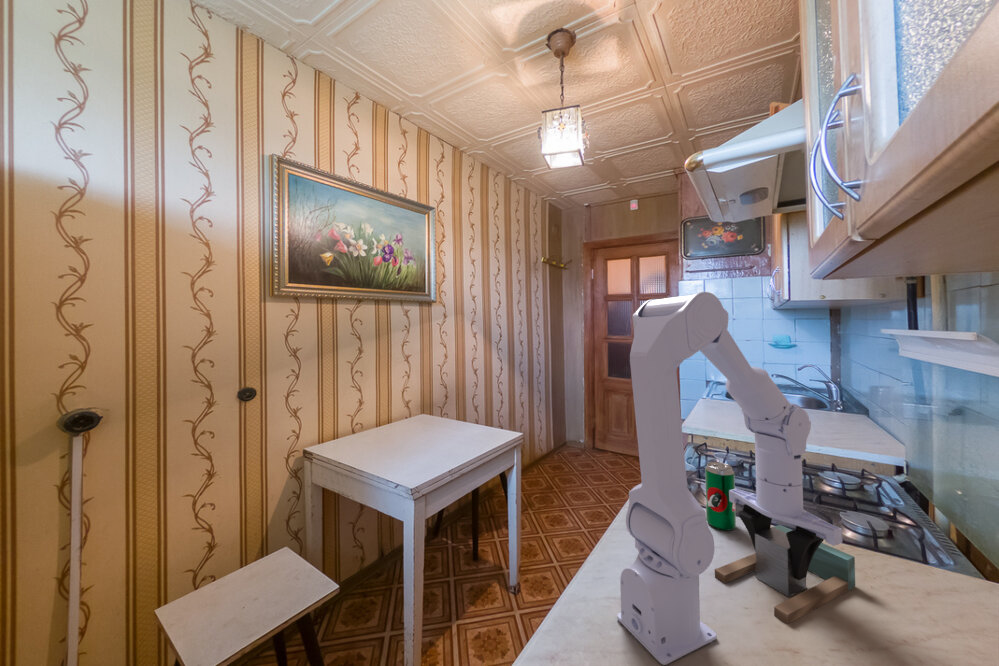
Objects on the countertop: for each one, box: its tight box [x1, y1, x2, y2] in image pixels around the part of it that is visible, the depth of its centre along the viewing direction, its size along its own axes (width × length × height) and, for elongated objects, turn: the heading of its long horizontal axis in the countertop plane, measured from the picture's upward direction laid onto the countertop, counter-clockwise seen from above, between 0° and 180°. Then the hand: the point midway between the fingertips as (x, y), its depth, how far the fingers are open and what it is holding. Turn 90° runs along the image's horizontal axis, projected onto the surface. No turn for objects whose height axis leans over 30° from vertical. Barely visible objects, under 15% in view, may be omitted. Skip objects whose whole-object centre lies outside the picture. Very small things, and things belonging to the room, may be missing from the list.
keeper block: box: [754, 526, 807, 598], centre depth 55 cm, size 4×4×7 cm
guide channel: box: [714, 524, 856, 625], centre depth 55 cm, size 17×10×4 cm, turn 113°
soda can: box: [704, 461, 737, 532], centre depth 72 cm, size 5×5×12 cm
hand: (780, 567), depth 55 cm, fingers closed on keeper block, 4 cm apart
